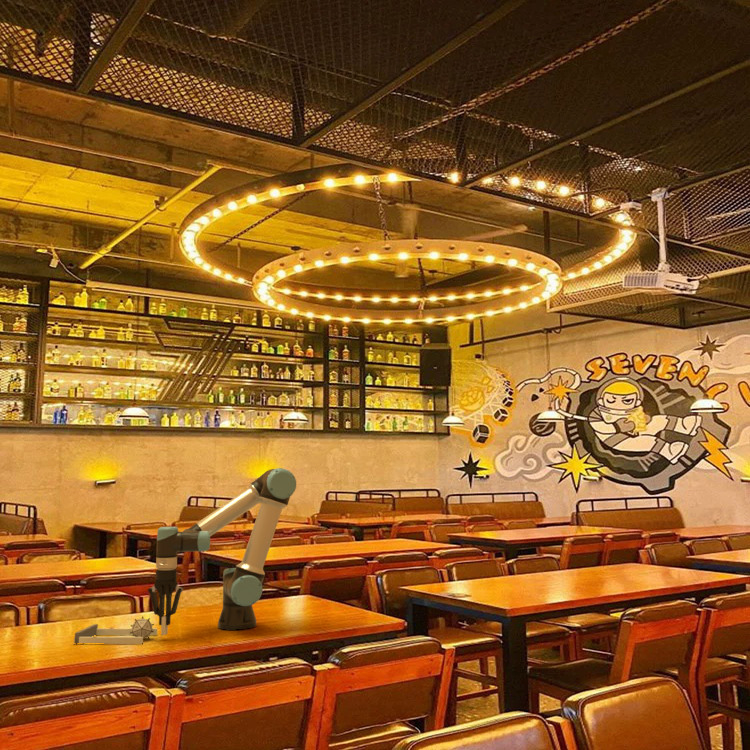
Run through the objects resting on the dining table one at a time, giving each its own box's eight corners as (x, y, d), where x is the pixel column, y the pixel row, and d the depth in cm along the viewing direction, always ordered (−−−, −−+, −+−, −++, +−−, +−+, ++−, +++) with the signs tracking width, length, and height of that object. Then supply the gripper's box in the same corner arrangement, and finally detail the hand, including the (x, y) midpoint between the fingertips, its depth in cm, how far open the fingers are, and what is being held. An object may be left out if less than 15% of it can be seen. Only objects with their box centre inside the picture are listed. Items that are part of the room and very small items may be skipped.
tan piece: (157, 635, 282) (157, 624, 283) (141, 644, 266) (142, 633, 267) (92, 635, 283) (93, 624, 284) (73, 644, 267) (74, 633, 268)
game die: (137, 651, 272) (123, 631, 269) (139, 638, 280) (124, 618, 277) (159, 638, 273) (145, 618, 270) (160, 626, 281) (146, 606, 278)
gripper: (145, 570, 274) (143, 636, 271) (180, 570, 273) (178, 636, 270) (152, 567, 281) (150, 632, 278) (186, 567, 281) (184, 632, 277)
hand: (164, 634), depth 274 cm, fingers closed
